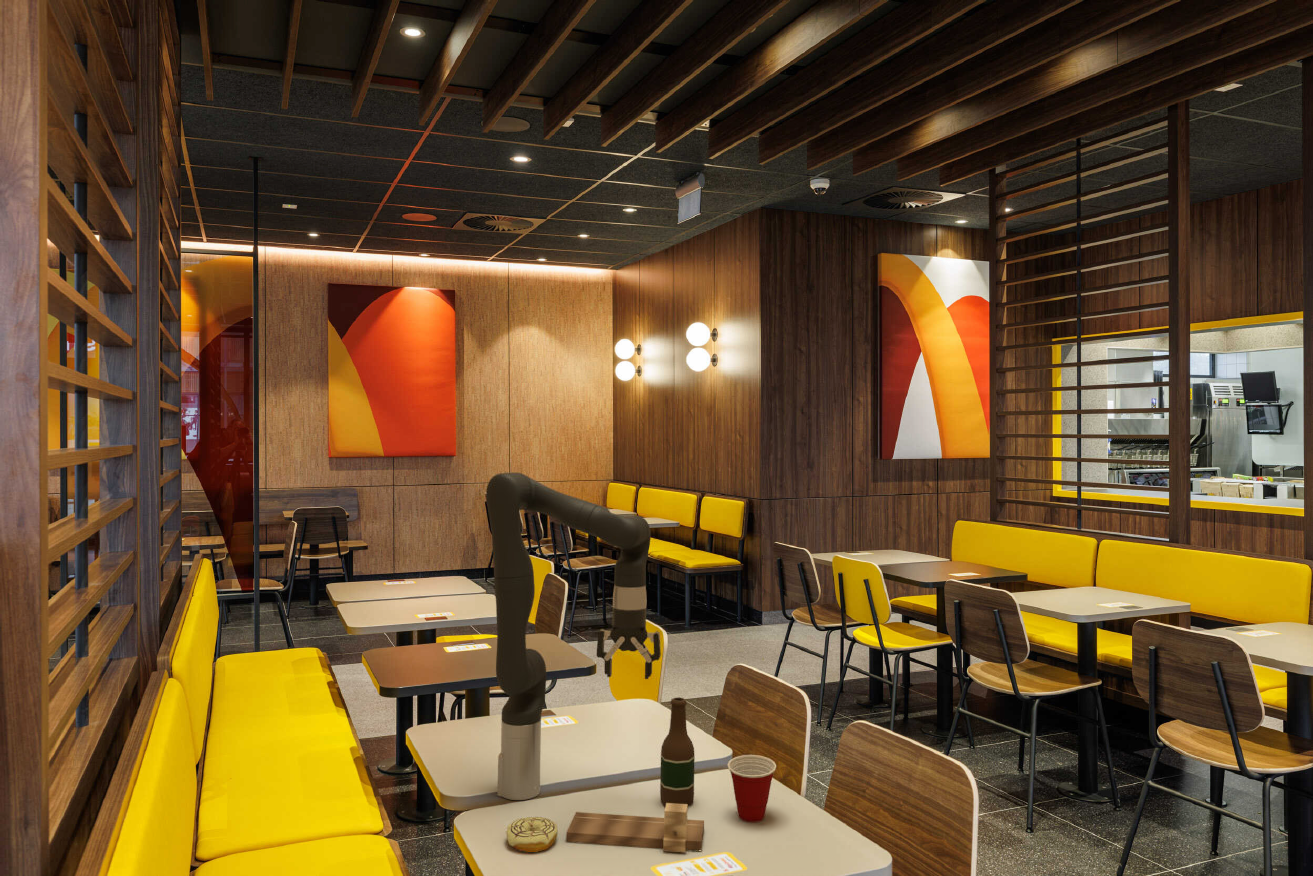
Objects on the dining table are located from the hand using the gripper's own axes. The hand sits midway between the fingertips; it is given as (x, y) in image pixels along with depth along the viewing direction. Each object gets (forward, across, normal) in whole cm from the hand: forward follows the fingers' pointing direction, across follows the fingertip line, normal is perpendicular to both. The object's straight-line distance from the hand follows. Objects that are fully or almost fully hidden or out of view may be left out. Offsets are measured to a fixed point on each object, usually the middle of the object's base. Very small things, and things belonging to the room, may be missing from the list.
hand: (628, 677), depth 200 cm
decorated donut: (+30, -17, -18) cm, 39 cm away
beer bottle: (+30, +11, +6) cm, 33 cm away
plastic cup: (+30, +28, +1) cm, 41 cm away
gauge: (+30, +13, -14) cm, 35 cm away
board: (+30, +4, -12) cm, 33 cm away
